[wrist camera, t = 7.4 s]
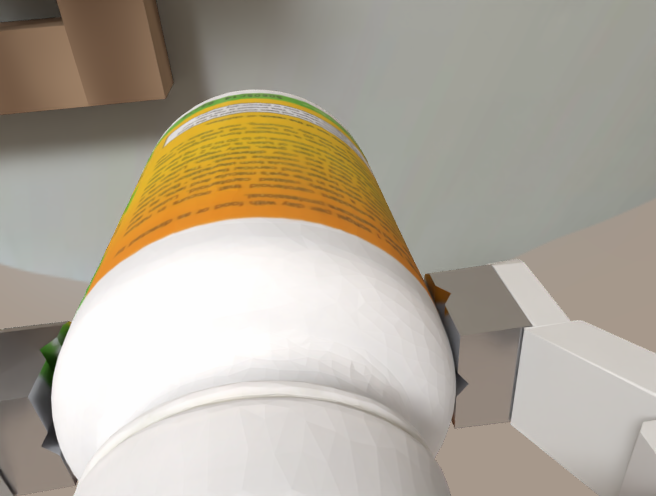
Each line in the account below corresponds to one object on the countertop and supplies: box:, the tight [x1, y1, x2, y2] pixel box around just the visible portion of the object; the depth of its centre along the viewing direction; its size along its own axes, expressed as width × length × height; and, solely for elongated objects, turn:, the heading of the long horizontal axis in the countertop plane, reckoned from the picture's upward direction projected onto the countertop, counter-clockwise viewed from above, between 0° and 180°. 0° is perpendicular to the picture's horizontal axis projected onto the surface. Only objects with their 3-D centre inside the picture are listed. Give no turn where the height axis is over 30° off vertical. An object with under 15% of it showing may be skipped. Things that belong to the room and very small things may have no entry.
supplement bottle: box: [51, 90, 456, 496], centre depth 9 cm, size 5×5×10 cm
